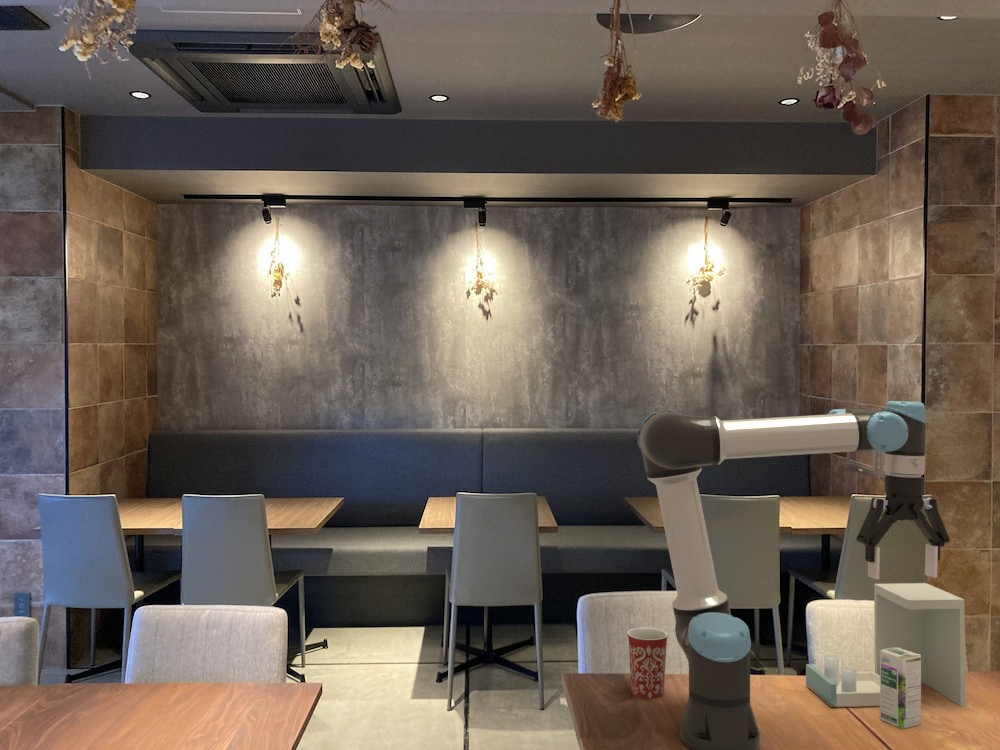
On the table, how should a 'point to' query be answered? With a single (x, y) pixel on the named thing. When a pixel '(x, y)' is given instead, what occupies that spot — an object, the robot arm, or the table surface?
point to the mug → (647, 661)
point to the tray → (861, 692)
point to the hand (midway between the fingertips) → (902, 577)
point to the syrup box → (900, 687)
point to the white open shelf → (924, 632)
